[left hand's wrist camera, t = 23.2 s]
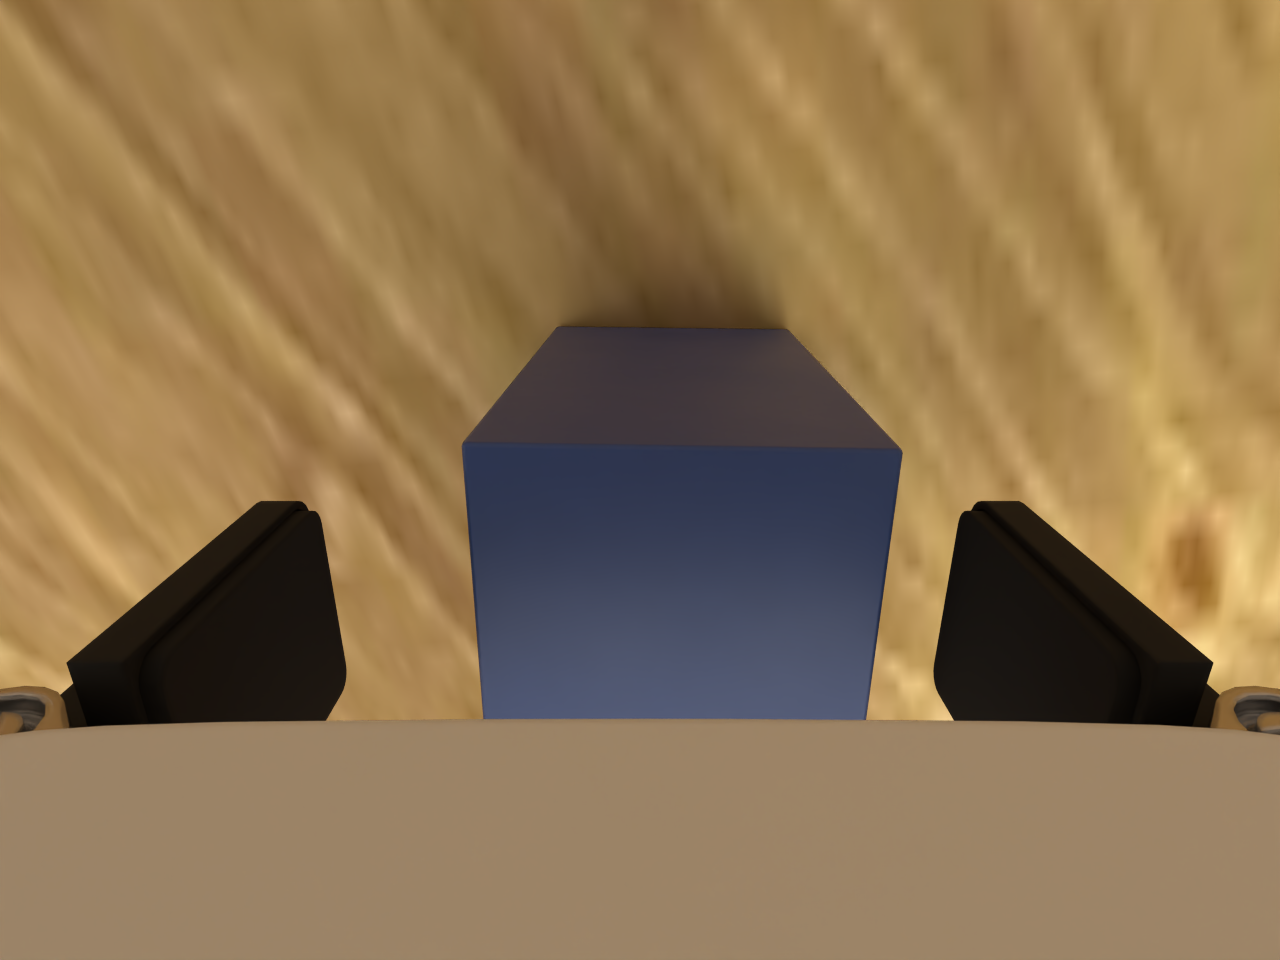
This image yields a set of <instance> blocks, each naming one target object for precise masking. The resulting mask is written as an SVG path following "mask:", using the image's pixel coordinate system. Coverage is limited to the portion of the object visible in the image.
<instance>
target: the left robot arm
mask: <svg viewBox="0 0 1280 960" xmlns="http://www.w3.org/2000/svg"><path fill="white" fill-rule="evenodd" d="M67 666H68V669H69V672H70V675H71V678H72V681H73V684H72V685H71V686H70V687H69V688H68V689H67V690H65V691H64V692H63V693H62V694H61V695H60V694H59V693H58V692H56V691H54V690H51V689H48V688H46V687H35V686H21V687H13V688H5V689H0V960H1280V689H1275V688H1267V687H1259V686H1245V687H1234V688H1232V689H1229V690H1226V691H1224V692H1222V693H1221V694H1220V695H1219V694H1218V693H1217V692H1216V691H1215V690H1213V689H1212V688H1211V687H1210V686H1209V685H1208V684H1207V681H1208V678H1209V675H1210V672H1211V669H1212V666H1213V662H1212V661H1211V660H1210V659H1208V658H1207V657H1206V656H1205V655H1204V654H1202V653H1201V652H1200V651H1199V650H1198V649H1196V648H1195V647H1194V646H1193V645H1192V644H1191V643H1189V642H1188V641H1187V640H1186V639H1185V638H1183V637H1182V636H1181V635H1180V634H1179V633H1177V632H1176V631H1175V630H1174V629H1173V628H1171V627H1170V626H1169V625H1168V624H1167V623H1165V622H1164V621H1163V620H1162V619H1161V618H1160V617H1158V616H1157V615H1156V614H1155V613H1154V612H1152V611H1151V610H1150V609H1149V608H1148V607H1146V606H1145V605H1144V604H1143V603H1142V602H1140V601H1139V600H1138V599H1137V598H1136V597H1134V596H1133V595H1132V594H1131V593H1130V592H1128V591H1127V590H1126V589H1125V588H1124V587H1123V586H1121V585H1120V584H1119V583H1118V582H1117V581H1115V580H1114V579H1113V578H1112V577H1111V576H1109V575H1108V574H1107V573H1106V572H1105V571H1103V570H1102V569H1101V568H1100V567H1099V566H1097V565H1096V564H1095V563H1094V562H1093V561H1092V560H1090V559H1089V558H1088V557H1087V556H1086V555H1084V554H1083V553H1082V552H1081V551H1080V550H1078V549H1077V548H1076V547H1075V546H1074V545H1072V544H1071V543H1070V542H1069V541H1068V540H1066V539H1065V538H1064V537H1063V536H1062V535H1060V534H1059V533H1058V532H1057V531H1056V530H1055V529H1053V528H1052V527H1051V526H1050V525H1049V524H1047V523H1046V522H1045V521H1044V520H1043V519H1041V518H1040V517H1039V516H1038V515H1037V514H1035V513H1034V512H1033V511H1032V510H1031V509H1029V508H1028V507H1027V506H1026V505H1025V504H1024V503H1022V502H1020V501H979V502H977V503H976V504H975V505H974V506H973V508H972V510H971V511H964V512H963V513H962V514H961V516H960V519H959V523H958V528H957V534H956V540H955V546H954V551H953V557H952V563H951V569H950V575H949V581H948V586H947V592H946V598H945V604H944V610H943V616H942V621H941V627H940V633H939V639H938V645H937V651H936V656H935V662H934V682H935V686H936V689H937V692H938V694H939V695H940V697H941V699H942V701H943V702H944V704H945V706H946V707H947V709H948V711H949V713H950V714H951V716H952V718H953V719H954V721H918V720H800V719H455V720H361V721H326V719H327V718H328V716H329V714H330V713H331V711H332V709H333V707H334V706H335V704H336V702H337V701H338V699H339V697H340V695H341V694H342V692H343V689H344V686H345V682H346V662H345V656H344V651H343V645H342V639H341V633H340V627H339V621H338V616H337V610H336V604H335V598H334V592H333V586H332V581H331V575H330V569H329V563H328V557H327V551H326V546H325V540H324V534H323V528H322V523H321V519H320V516H319V514H318V513H317V512H316V511H309V510H308V508H307V506H306V505H305V504H304V503H303V502H301V501H260V502H258V503H256V504H255V505H254V506H253V507H252V508H251V509H249V510H248V511H247V512H246V513H245V514H243V515H242V516H241V517H240V518H239V519H237V520H236V521H235V522H234V523H233V524H231V525H230V526H229V527H228V528H227V529H225V530H224V531H223V532H222V533H221V534H219V535H218V536H217V537H216V538H215V539H214V540H212V541H211V542H210V543H209V544H208V545H206V546H205V547H204V548H203V549H202V550H200V551H199V552H198V553H197V554H196V555H194V556H193V557H192V558H191V559H190V560H188V561H187V562H186V563H185V564H184V565H183V566H181V567H180V568H179V569H178V570H177V571H175V572H174V573H173V574H172V575H171V576H169V577H168V578H167V579H166V580H165V581H163V582H162V583H161V584H160V585H159V586H157V587H156V588H155V589H154V590H153V591H152V592H150V593H149V594H148V595H147V596H146V597H144V598H143V599H142V600H141V601H140V602H138V603H137V604H136V605H135V606H134V607H132V608H131V609H130V610H129V611H128V612H126V613H125V614H124V615H123V616H122V617H120V618H119V619H118V620H117V621H116V622H115V623H113V624H112V625H111V626H110V627H109V628H107V629H106V630H105V631H104V632H103V633H101V634H100V635H99V636H98V637H97V638H95V639H94V640H93V641H92V642H91V643H89V644H88V645H87V646H86V647H85V648H84V649H82V650H81V651H80V652H79V653H78V654H76V655H75V656H74V657H73V658H72V659H70V660H69V661H68V662H67Z"/></svg>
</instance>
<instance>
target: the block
mask: <svg viewBox="0 0 1280 960" xmlns="http://www.w3.org/2000/svg"><path fill="white" fill-rule="evenodd" d="M902 454H903V453H902V450H901V449H900V448H899V446H898V445H897V444H896V443H895V442H894V441H893V440H892V439H891V438H890V437H889V436H888V435H887V434H886V433H885V432H884V431H883V430H882V428H881V427H880V426H879V425H878V424H877V423H876V422H875V421H874V420H873V419H872V418H871V417H870V416H869V415H868V414H867V413H866V412H865V411H864V409H863V408H862V407H861V406H860V405H859V404H858V403H857V402H856V401H855V400H854V399H853V398H852V397H851V396H850V395H849V394H848V393H847V392H846V390H845V389H844V388H843V387H842V386H841V385H840V384H839V383H838V382H837V381H836V380H835V379H834V378H833V377H832V376H831V375H830V374H829V373H828V371H827V370H826V369H825V368H824V367H823V366H822V365H821V364H820V363H819V362H818V361H817V360H816V359H815V358H814V357H813V356H812V355H811V354H810V352H809V351H808V350H807V349H806V348H805V347H804V346H803V345H802V344H801V343H800V342H799V341H798V340H797V339H796V338H795V337H794V336H793V335H792V333H791V332H790V331H789V330H787V329H713V328H631V327H557V328H556V329H555V330H554V331H553V333H552V334H551V335H550V336H549V338H548V339H547V340H546V341H545V343H544V344H543V345H542V346H541V347H540V349H539V350H538V351H537V352H536V354H535V355H534V356H533V357H532V358H531V360H530V361H529V362H528V363H527V365H526V366H525V367H524V368H523V370H522V371H521V372H520V373H519V374H518V376H517V377H516V378H515V379H514V381H513V382H512V383H511V384H510V386H509V387H508V388H507V389H506V390H505V392H504V393H503V394H502V395H501V397H500V398H499V399H498V400H497V401H496V403H495V404H494V405H493V406H492V408H491V409H490V410H489V411H488V413H487V414H486V415H485V416H484V417H483V419H482V420H481V421H480V422H479V424H478V425H477V426H476V427H475V429H474V430H473V431H472V432H471V433H470V435H469V436H468V437H467V438H466V440H465V441H464V442H463V444H462V456H463V468H464V481H465V493H466V506H467V518H468V531H469V544H470V556H471V569H472V581H473V594H474V606H475V619H476V631H477V644H478V657H479V669H480V682H481V694H482V707H483V719H800V720H866V716H867V709H868V701H869V694H870V687H871V679H872V672H873V665H874V658H875V650H876V643H877V636H878V628H879V621H880V614H881V607H882V599H883V592H884V585H885V577H886V570H887V563H888V556H889V548H890V541H891V534H892V526H893V519H894V512H895V505H896V497H897V490H898V483H899V475H900V468H901V461H902Z"/></svg>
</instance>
